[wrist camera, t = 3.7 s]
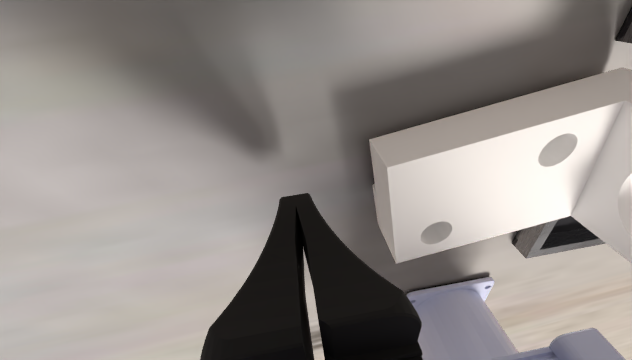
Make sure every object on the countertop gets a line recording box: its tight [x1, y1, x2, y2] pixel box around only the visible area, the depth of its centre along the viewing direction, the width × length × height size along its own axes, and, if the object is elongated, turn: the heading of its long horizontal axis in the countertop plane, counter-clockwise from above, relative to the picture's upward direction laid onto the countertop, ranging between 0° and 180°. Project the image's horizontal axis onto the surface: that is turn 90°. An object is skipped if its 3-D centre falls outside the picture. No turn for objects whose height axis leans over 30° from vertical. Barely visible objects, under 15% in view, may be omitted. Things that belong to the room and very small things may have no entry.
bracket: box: [369, 68, 632, 264], centre depth 14 cm, size 13×7×8 cm, turn 103°
